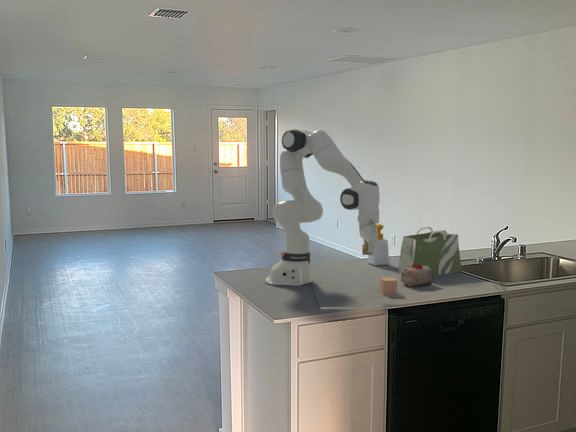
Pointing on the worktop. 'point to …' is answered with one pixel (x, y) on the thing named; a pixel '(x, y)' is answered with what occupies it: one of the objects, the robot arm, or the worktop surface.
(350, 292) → the baseplate
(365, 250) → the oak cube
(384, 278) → the base block
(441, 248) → the grocery bag
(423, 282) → the food item
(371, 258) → the soap bottle
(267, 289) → the worktop surface
